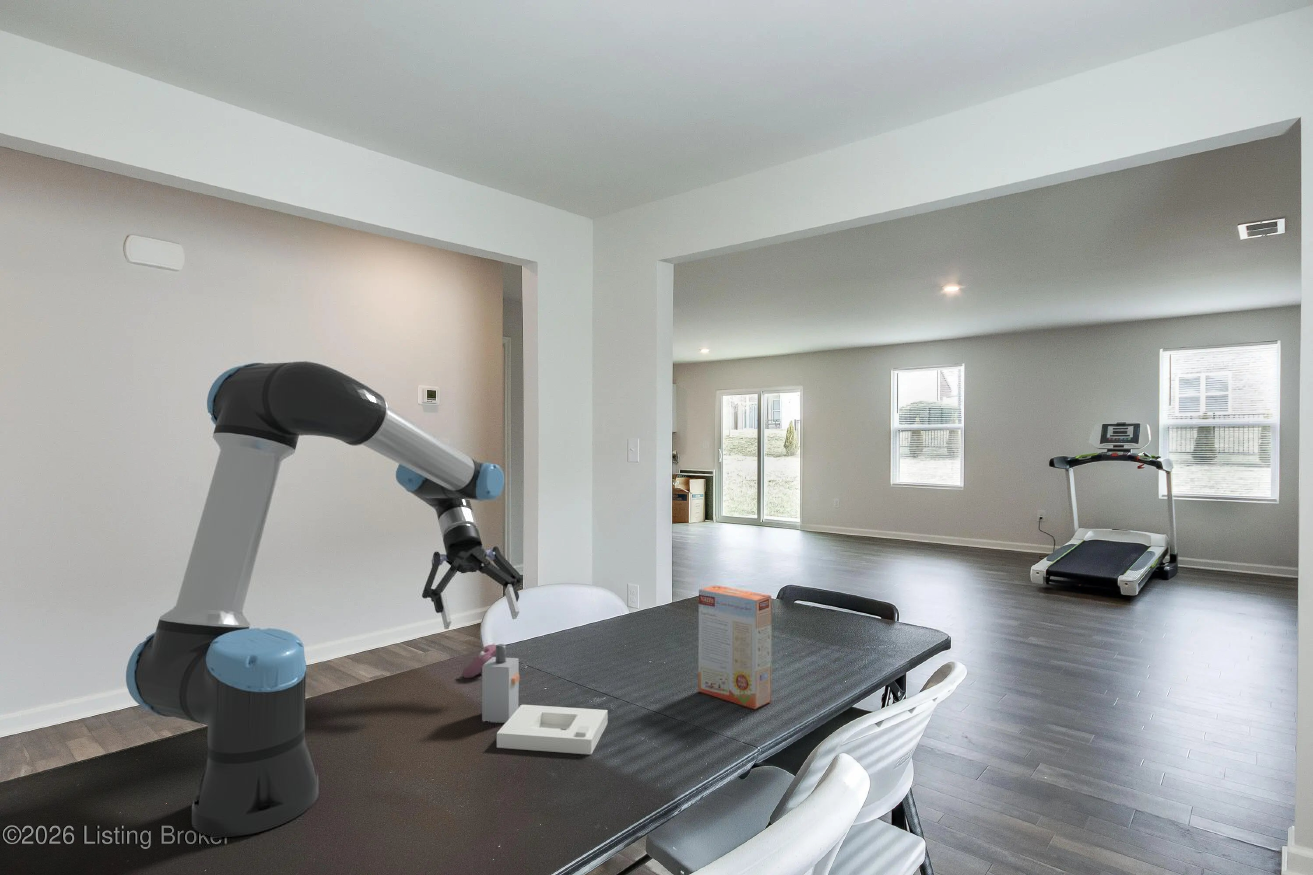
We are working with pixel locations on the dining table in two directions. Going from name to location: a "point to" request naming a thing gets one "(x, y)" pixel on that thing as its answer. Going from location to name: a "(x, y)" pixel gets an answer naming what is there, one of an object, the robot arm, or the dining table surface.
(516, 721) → the socket plate
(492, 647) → the video game controller
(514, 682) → the plug
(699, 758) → the dining table surface
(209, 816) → the robot arm
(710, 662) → the cracker box
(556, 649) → the dining table surface
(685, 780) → the dining table surface
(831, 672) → the dining table surface
